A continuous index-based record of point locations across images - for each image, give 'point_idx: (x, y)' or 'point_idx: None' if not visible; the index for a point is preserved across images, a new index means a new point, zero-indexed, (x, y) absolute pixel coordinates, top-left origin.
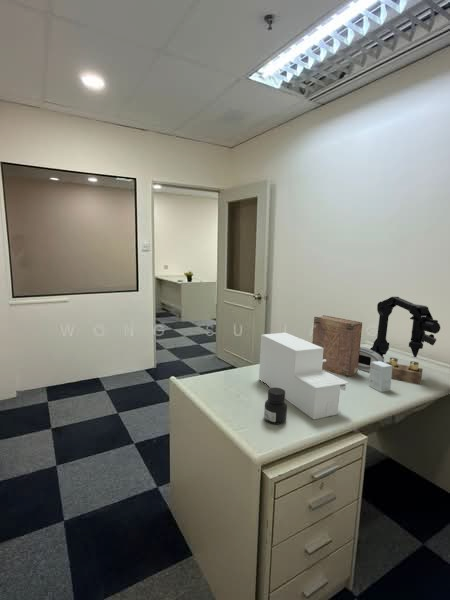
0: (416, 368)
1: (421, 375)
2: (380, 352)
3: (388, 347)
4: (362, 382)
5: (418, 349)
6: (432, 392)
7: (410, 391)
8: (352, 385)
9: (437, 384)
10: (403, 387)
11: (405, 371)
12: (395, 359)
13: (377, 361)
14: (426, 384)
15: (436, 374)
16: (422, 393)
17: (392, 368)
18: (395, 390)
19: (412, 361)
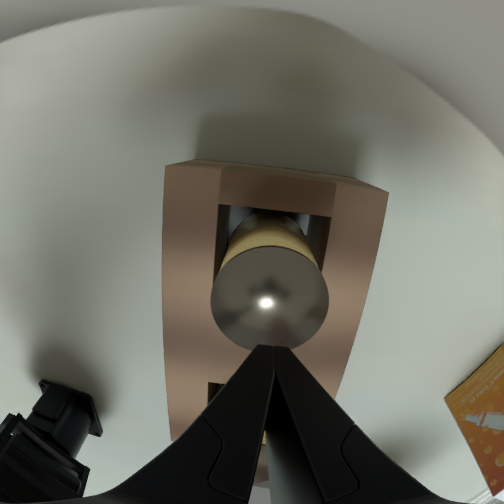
0: (310, 250)
1: (381, 190)
2: (60, 462)
3: (7, 455)
4: (428, 441)
5: (419, 496)
6: (461, 121)
7: (493, 254)
8: (463, 449)
9: (262, 49)
10: (450, 291)
11: (354, 331)
12: (263, 459)
13: (502, 497)
14: (317, 130)
15: (28, 74)
16: (498, 189)
17: None
18: (495, 324)
19: (227, 326)
